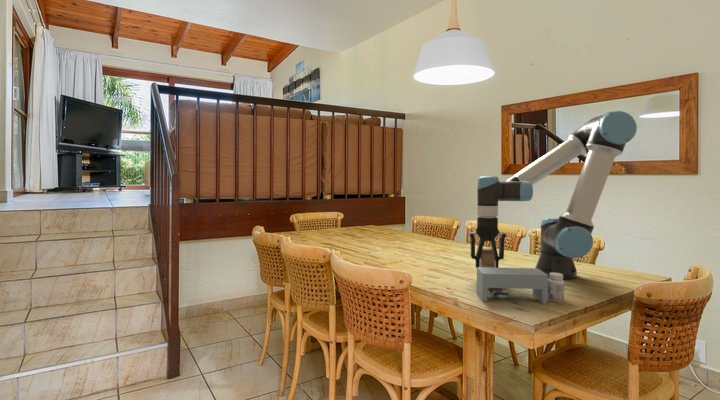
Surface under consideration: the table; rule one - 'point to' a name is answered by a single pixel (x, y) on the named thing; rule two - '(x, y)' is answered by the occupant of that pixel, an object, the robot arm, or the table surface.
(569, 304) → the table surface
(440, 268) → the table surface
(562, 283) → the pill bottle
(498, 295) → the steel puck
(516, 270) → the bench
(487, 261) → the brown angled block
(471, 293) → the table surface
